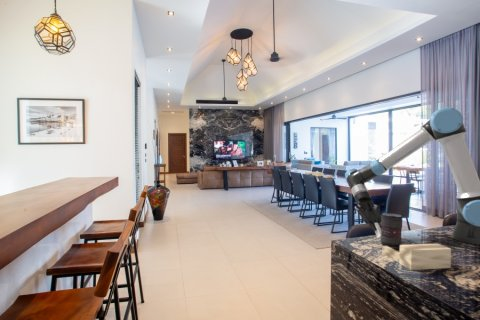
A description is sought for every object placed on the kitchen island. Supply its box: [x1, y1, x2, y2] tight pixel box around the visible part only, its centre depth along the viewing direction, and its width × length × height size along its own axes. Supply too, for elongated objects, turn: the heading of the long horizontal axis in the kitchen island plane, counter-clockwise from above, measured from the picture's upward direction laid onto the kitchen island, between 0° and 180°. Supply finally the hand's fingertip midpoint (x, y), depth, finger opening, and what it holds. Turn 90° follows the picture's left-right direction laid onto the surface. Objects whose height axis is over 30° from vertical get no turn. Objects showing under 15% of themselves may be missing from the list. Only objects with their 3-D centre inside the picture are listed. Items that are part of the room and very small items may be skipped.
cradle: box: [381, 243, 452, 271], centre depth 110 cm, size 17×16×7 cm
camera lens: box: [380, 212, 403, 252], centre depth 123 cm, size 8×8×15 cm
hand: (380, 236), depth 129 cm, fingers closed
